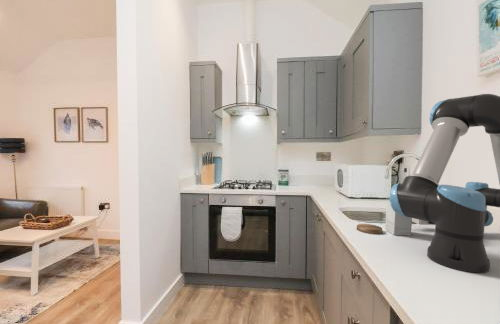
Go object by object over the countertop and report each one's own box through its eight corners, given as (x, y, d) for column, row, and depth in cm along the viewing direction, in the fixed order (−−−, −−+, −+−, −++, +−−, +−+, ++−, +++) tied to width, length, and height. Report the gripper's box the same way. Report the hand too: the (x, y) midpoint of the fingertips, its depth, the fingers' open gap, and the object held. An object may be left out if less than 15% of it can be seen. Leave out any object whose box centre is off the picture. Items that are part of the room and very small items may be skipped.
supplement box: (411, 236, 104) (413, 205, 104) (393, 235, 105) (395, 204, 104) (401, 230, 112) (402, 202, 111) (384, 229, 112) (385, 201, 112)
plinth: (387, 234, 106) (387, 230, 106) (364, 233, 105) (364, 230, 105) (373, 227, 116) (373, 223, 116) (352, 226, 115) (352, 223, 115)
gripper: (481, 235, 98) (430, 234, 96) (430, 218, 123) (389, 218, 121) (482, 216, 98) (431, 215, 96) (431, 203, 123) (390, 202, 121)
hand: (407, 216), depth 109 cm, fingers open, 13 cm apart
